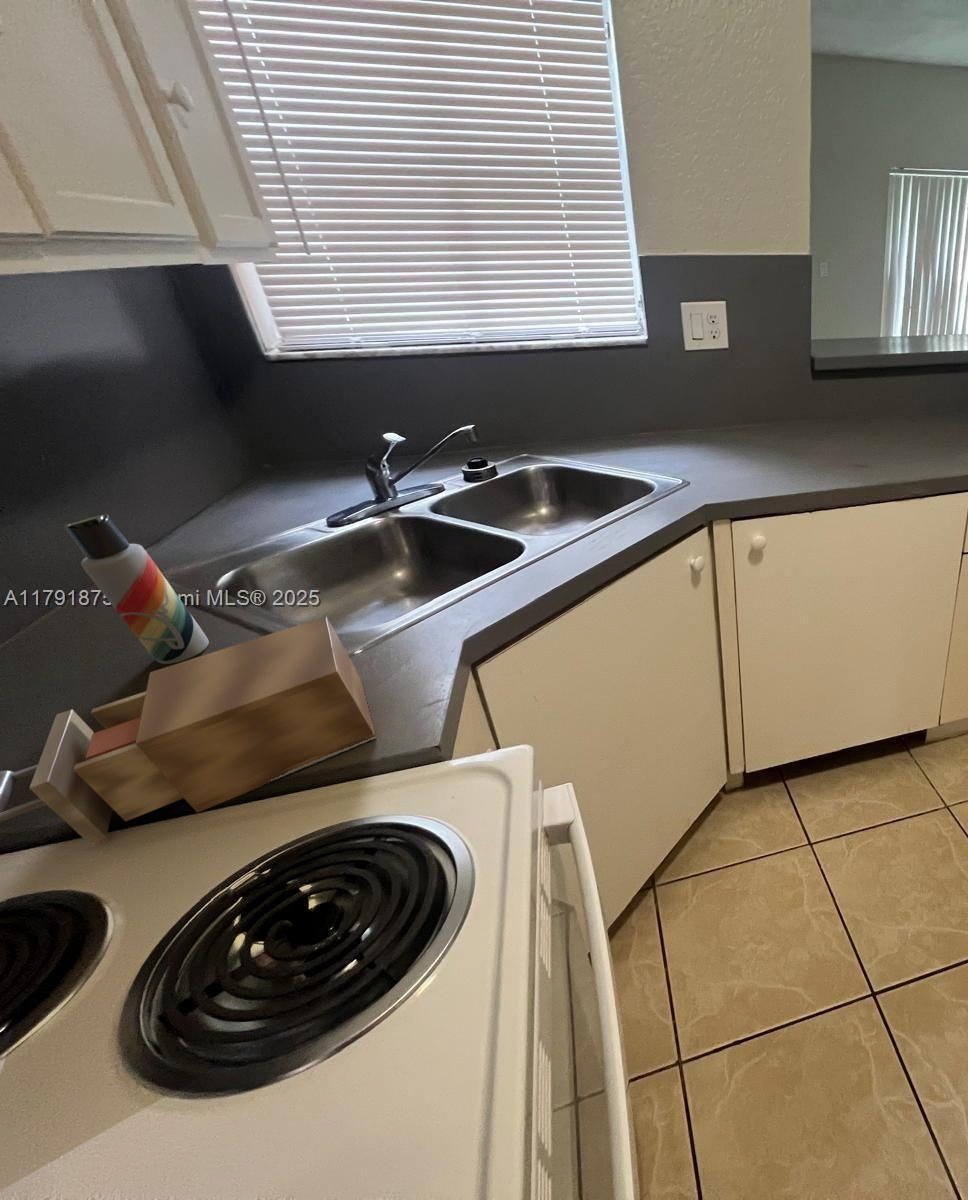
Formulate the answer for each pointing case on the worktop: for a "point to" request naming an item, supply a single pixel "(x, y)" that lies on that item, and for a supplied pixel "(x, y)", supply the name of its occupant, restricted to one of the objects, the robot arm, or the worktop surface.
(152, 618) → the lotion bottle
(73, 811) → the drawer
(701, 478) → the worktop surface
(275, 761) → the cabinet
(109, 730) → the block
